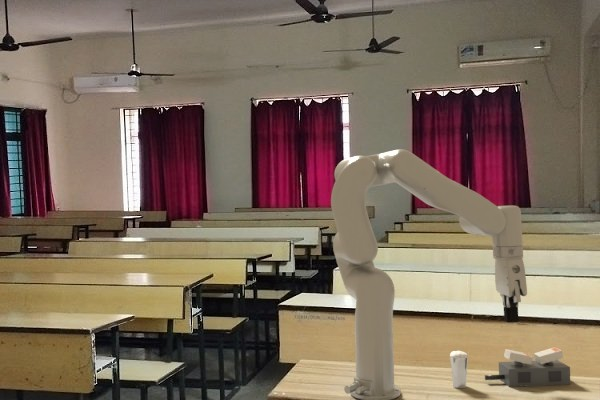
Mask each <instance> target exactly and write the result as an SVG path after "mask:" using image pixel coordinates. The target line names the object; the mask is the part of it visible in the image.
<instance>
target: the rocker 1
mask: <svg viewBox="0 0 600 400" xmlns="http://www.w3.org/2000/svg"><path fill="white" fill-rule="evenodd" d="M503 357H504V358H506V359H507V360H509V361H511V362H513V361H517V362H521V363H526V364H532V361H533V359H534V357H533V355H530V354H529V353H528V352H527V353H525V352H522V351H517V350H512V349H507V348H505V350H504V355H503Z"/></svg>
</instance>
